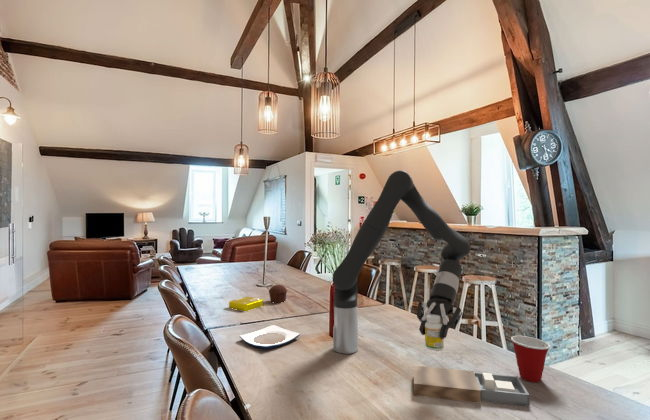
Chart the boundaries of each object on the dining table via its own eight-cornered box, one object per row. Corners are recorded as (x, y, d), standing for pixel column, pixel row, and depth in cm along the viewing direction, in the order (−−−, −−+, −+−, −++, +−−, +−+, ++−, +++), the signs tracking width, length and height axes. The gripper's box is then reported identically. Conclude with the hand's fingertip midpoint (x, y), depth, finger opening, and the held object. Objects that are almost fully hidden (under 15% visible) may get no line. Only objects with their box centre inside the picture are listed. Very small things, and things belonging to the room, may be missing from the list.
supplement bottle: (439, 352, 101) (438, 320, 101) (422, 348, 104) (421, 317, 104) (446, 347, 105) (445, 315, 105) (429, 343, 108) (428, 312, 108)
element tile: (247, 303, 210) (246, 295, 210) (264, 306, 202) (264, 298, 202) (227, 309, 198) (227, 300, 198) (245, 312, 189) (245, 304, 189)
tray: (481, 400, 96) (481, 389, 96) (474, 381, 107) (474, 372, 107) (529, 405, 93) (529, 394, 93) (518, 386, 104) (517, 376, 104)
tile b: (514, 389, 96) (515, 398, 96) (511, 381, 100) (511, 390, 100) (497, 387, 97) (497, 396, 97) (494, 380, 102) (494, 388, 102)
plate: (303, 339, 147) (303, 333, 147) (265, 354, 132) (265, 347, 132) (273, 329, 161) (273, 323, 161) (236, 342, 146) (235, 335, 146)
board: (414, 395, 100) (413, 383, 100) (414, 376, 111) (414, 365, 111) (480, 403, 95) (480, 390, 95) (473, 382, 107) (473, 371, 107)
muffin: (265, 301, 211) (264, 285, 212) (279, 298, 219) (279, 282, 219) (276, 305, 203) (276, 288, 203) (291, 301, 210) (290, 285, 210)
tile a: (484, 379, 98) (494, 380, 97) (482, 372, 102) (491, 373, 102) (485, 395, 98) (494, 396, 97) (482, 387, 102) (491, 388, 102)
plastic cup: (560, 385, 104) (559, 346, 104) (526, 387, 103) (525, 347, 103) (535, 369, 115) (534, 333, 115) (504, 371, 114) (503, 335, 114)
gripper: (420, 279, 115) (405, 325, 106) (464, 284, 106) (452, 334, 96) (427, 292, 119) (413, 337, 110) (470, 298, 110) (459, 347, 101)
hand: (431, 335), depth 103 cm, fingers closed on supplement bottle, 5 cm apart
